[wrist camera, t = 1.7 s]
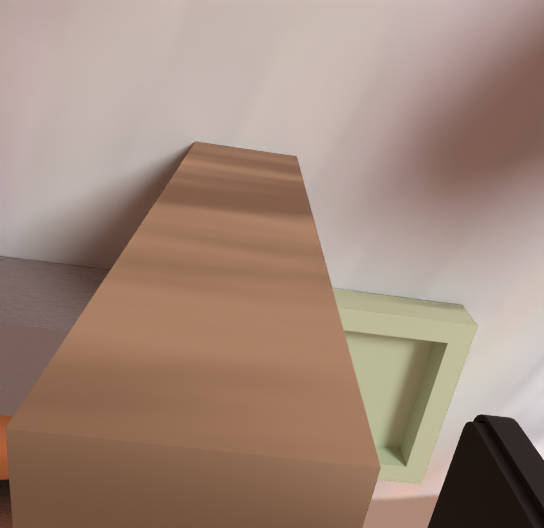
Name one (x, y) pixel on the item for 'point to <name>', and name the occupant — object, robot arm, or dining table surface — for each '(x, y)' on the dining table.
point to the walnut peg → (203, 372)
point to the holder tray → (405, 372)
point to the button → (4, 447)
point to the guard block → (35, 329)
